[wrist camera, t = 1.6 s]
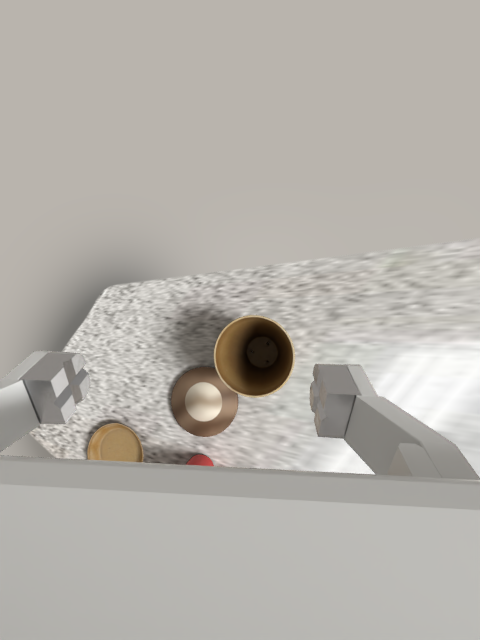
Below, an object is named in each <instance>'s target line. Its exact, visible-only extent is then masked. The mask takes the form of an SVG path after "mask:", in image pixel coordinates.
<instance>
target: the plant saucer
mask: <svg viewBox="0 0 480 640" xmlns="http://www.w3.org/2000/svg"><path fill="white" fill-rule="evenodd" d="M87 458H88V460H103V461H123V462H142V463H143V448H142V444H141V442H140V440H139V438H138V436H137V435H136V433H135V432H134V431H133V430H132V429H130V428H129V427H127V426H125V425H123V424H119V423H110V424H106V425H104V426H102V427H100V428H99V429H98V430H97V431H96V432H95V433H94V434H93V435H92V437H91V439H90V441H89V444H88V449H87Z"/></svg>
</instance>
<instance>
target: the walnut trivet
mask: <svg viewBox="0 0 480 640" xmlns="http://www.w3.org/2000/svg"><path fill="white" fill-rule="evenodd" d="M171 406H172V411H173V414H174V416H175V419H176V420H177V422H178V423H179V424H180V426H181V427H182V428H183V429H185V430H186V431H187V432H189V433H191V434H193V435H196V436H201V437H209V436H214V435H217V434H219V433H221V432H222V431H224V430H225V429H226V428H227V427H228V426H229V425H230V424H231V422H232V421H233V419H234V417H235V415H236V412H237V409H238V395H237V393H236V392H234V391H232V390H231V389H229V388H228V387H227V386H226V385H225V384H224V383H223V381H222V380H221V379H220V377H219V375H218V373H217V371H216V369H215V368H212V367H199V368H195V369H192V370H190V371H188V372H186V373H185V374H183V375H182V376H181V377H180V378H179V380H178V381H177V382H176V384H175V386H174V388H173V391H172V396H171Z"/></svg>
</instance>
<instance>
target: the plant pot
mask: <svg viewBox="0 0 480 640" xmlns="http://www.w3.org/2000/svg"><path fill="white" fill-rule="evenodd" d="M267 342H268V344H267ZM251 351H252V353H251ZM267 361H268V362H267ZM294 363H295V351H294V346H293V343H292V340H291V338H290V336H289V335H288V333H287V332H286V330H285V329H284V328H283V327H282V326H281V325H280V324H278V323H277V322H275V321H274V320H272V319H270V318H267V317H264V316H259V315H249V316H244V317H240V318H238V319H236V320H234V321H232V322H231V323H229V324H228V325H227V326H226V327H225V328H224V329H223V330H222V332H221V333H220V335H219V337H218V339H217V341H216V344H215V348H214V364H215V368H216V371H217V373H218V375H219V377H220V379H221V380H222V381H223V383H224V384H225V385H226V386H227V387H228V388H229V389H231V390H232V391H234V392H236V393H237V394H240V395H243V396H246V397H254V398H256V397H264V396H268V395H270V394H272V393H274V392H276V391H277V390H279V389H280V388H281V387H282V386H283V385H284V384H285V383H286V382H287V381H288V379H289V377H290V375H291V373H292V371H293V368H294Z"/></svg>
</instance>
